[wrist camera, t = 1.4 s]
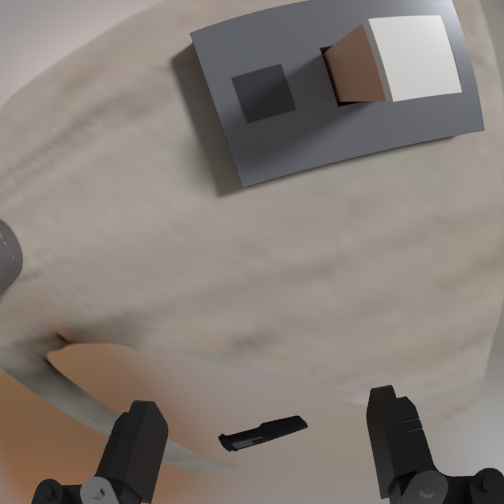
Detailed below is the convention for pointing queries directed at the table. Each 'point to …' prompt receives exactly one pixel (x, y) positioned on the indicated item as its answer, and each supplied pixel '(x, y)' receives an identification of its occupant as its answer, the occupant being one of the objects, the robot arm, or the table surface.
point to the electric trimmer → (263, 433)
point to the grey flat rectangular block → (319, 88)
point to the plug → (393, 60)
